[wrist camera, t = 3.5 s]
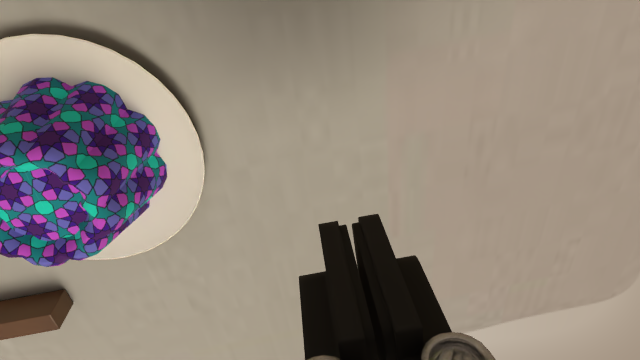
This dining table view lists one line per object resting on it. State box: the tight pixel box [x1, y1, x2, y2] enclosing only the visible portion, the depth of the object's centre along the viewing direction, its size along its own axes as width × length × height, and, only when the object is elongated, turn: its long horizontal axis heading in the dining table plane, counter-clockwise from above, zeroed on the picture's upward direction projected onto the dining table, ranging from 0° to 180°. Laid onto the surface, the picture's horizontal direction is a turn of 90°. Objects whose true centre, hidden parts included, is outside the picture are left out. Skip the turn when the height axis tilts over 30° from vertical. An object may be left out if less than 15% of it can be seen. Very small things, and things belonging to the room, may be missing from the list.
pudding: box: [0, 34, 205, 267], centre depth 19 cm, size 12×12×5 cm
